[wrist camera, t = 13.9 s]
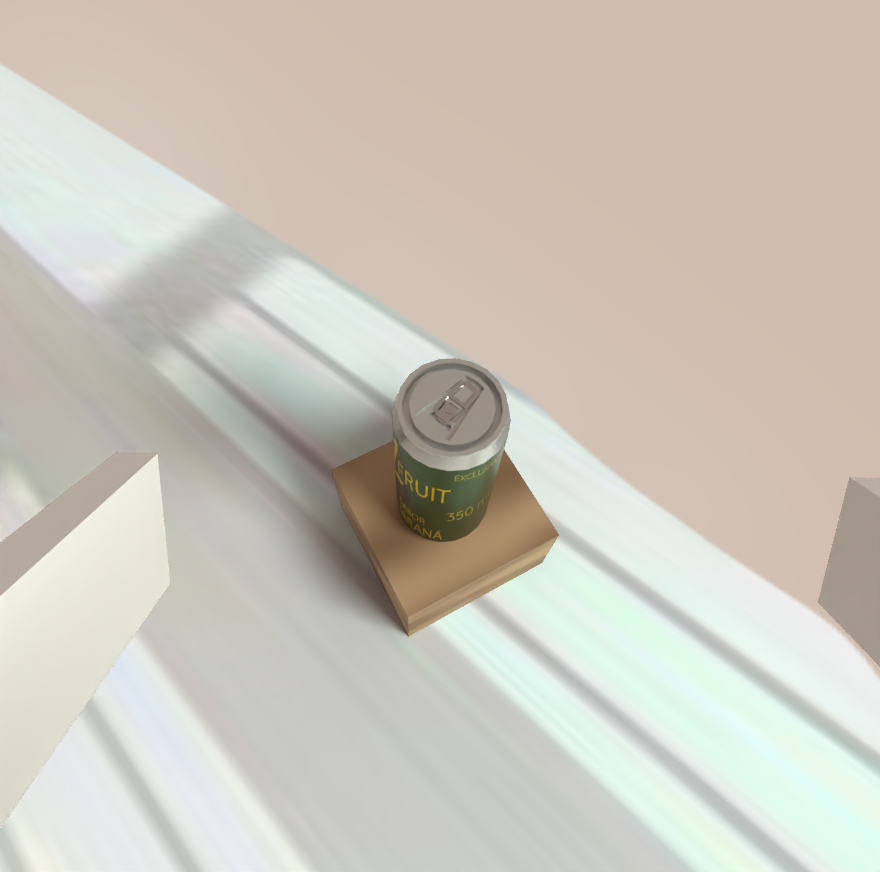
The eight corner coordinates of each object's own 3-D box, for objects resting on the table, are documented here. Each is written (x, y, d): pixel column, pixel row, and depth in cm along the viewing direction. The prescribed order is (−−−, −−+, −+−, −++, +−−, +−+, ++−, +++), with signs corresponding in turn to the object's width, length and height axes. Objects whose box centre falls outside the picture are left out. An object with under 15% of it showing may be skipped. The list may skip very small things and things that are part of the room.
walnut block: (341, 504, 47) (331, 469, 41) (467, 443, 49) (473, 402, 44) (408, 636, 43) (407, 617, 38) (541, 562, 45) (558, 535, 40)
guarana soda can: (435, 445, 42) (443, 333, 31) (504, 497, 41) (537, 399, 30) (378, 507, 40) (365, 411, 30) (448, 564, 39) (461, 486, 28)
